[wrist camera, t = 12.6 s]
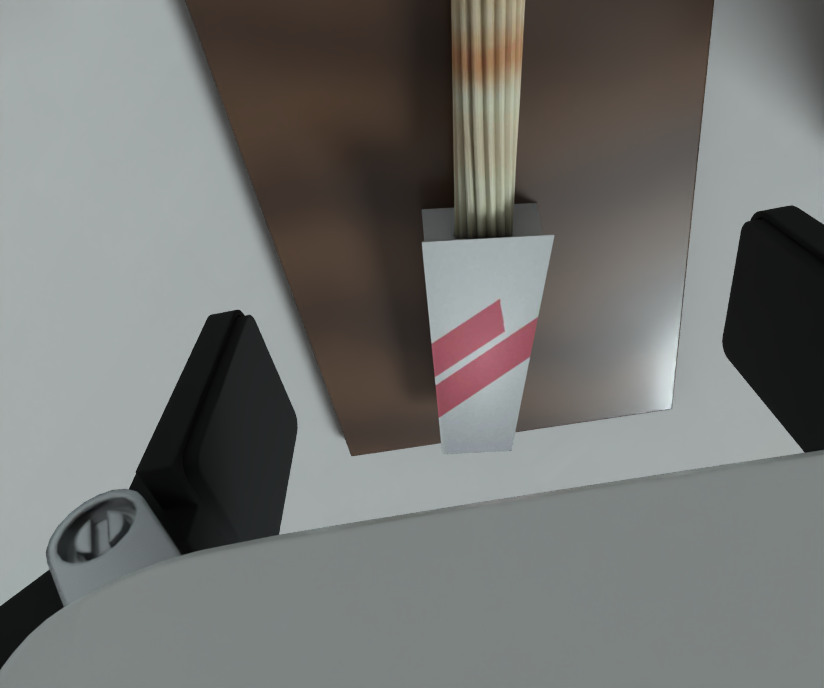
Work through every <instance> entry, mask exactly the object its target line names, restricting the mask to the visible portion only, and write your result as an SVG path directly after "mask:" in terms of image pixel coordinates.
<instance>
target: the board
mask: <svg viewBox="0 0 824 688" xmlns="http://www.w3.org/2000/svg"><path fill="white" fill-rule="evenodd" d="M185 2H186V5H187V7H188V10H189V13H190V16H191V18H192V21H193V24H194V26H195V29H196V32H197V35H198V37H199V40H200V43H201V46H202V48H203V51H204V54H205V57H206V59H207V62H208V65H209V68H210V70H211V73H212V76H213V78H214V81H215V84H216V87H217V89H218V92H219V95H220V98H221V100H222V103H223V106H224V109H225V111H226V114H227V117H228V120H229V122H230V125H231V128H232V131H233V133H234V136H235V139H236V141H237V144H238V147H239V150H240V152H241V155H242V158H243V161H244V163H245V166H246V169H247V172H248V174H249V177H250V180H251V183H252V185H253V188H254V191H255V194H256V196H257V199H258V202H259V204H260V207H261V210H262V213H263V215H264V218H265V221H266V224H267V226H268V229H269V232H270V235H271V237H272V240H273V243H274V246H275V248H276V251H277V254H278V256H279V259H280V262H281V265H282V267H283V270H284V273H285V276H286V278H287V281H288V284H289V287H290V289H291V292H292V295H293V298H294V300H295V303H296V306H297V309H298V311H299V314H300V317H301V319H302V322H303V325H304V328H305V330H306V333H307V336H308V339H309V341H310V344H311V347H312V350H313V352H314V355H315V358H316V361H317V363H318V366H319V369H320V371H321V374H322V377H323V380H324V382H325V385H326V388H327V391H328V393H329V396H330V399H331V402H332V404H333V407H334V410H335V413H336V415H337V418H338V421H339V424H340V426H341V429H342V432H343V434H344V437H345V440H346V443H347V445H348V448H349V451H350V454H351V456H357V455H364V454H371V453H377V452H384V451H391V450H398V449H405V448H411V447H418V446H425V445H432V444H439V443H441V436H440V426H439V415H438V405H437V395H436V384H435V374H434V364H433V353H432V343H431V333H430V323H429V312H428V302H427V292H426V281H425V271H424V261H423V250H422V242H423V241H424V232H423V220H422V209H438V208H454V149H453V84H452V20H451V0H185ZM713 7H714V0H525V13H524V32H523V51H522V69H521V88H520V106H519V122H518V139H517V155H516V172H515V195H514V204H526V203H538V207H539V215H540V222H541V229H542V235H554V240H553V245H552V250H551V255H550V260H549V265H548V270H547V275H546V280H545V285H544V290H543V295H542V300H541V305H540V310H539V315H538V320H537V325H536V330H535V335H534V340H533V345H532V350H531V355H530V360H529V365H528V370H527V375H526V380H525V385H524V390H523V395H522V400H521V405H520V410H519V415H518V420H517V425H516V430H515V432H520V431H527V430H533V429H540V428H547V427H554V426H561V425H567V424H574V423H581V422H588V421H594V420H601V419H608V418H615V417H622V416H628V415H635V414H642V413H649V412H655V411H662V410H669V409H672V402H673V393H674V383H675V373H676V364H677V354H678V344H679V335H680V325H681V316H682V306H683V296H684V287H685V277H686V267H687V258H688V248H689V238H690V229H691V219H692V210H693V200H694V190H695V181H696V171H697V161H698V152H699V142H700V132H701V123H702V113H703V104H704V94H705V84H706V75H707V65H708V55H709V46H710V36H711V26H712V17H713Z"/></svg>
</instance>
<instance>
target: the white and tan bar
mask: <svg viewBox="0 0 824 688" xmlns="http://www.w3.org/2000/svg"><path fill="white" fill-rule="evenodd" d="M524 13H525V0H451V20H452V84H453V149H454V208H438V209H422V220H423V232H424V241H423V242H422V250H423V261H424V271H425V281H426V292H427V302H428V312H429V323H430V333H431V343H432V353H433V364H434V374H435V384H436V395H437V405H438V415H439V426H440V436H441V446H442V454H459V453H479V452H499V451H511V450H512V445H513V440H514V435H515V430H516V425H517V420H518V415H519V410H520V405H521V400H522V395H523V390H524V385H525V380H526V375H527V370H528V365H529V360H530V355H531V350H532V345H533V340H534V335H535V330H536V325H537V320H538V315H539V310H540V305H541V300H542V295H543V290H544V285H545V280H546V275H547V270H548V265H549V260H550V255H551V250H552V245H553V240H554V235H542V229H541V222H540V215H539V207H538V203H526V204H514V195H515V172H516V155H517V139H518V122H519V106H520V88H521V69H522V51H523V32H524Z"/></svg>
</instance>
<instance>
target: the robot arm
mask: <svg viewBox="0 0 824 688" xmlns="http://www.w3.org/2000/svg"><path fill="white" fill-rule="evenodd" d="M722 343H723V349H724V352H725V355H726V356H727V358H728V359H729V361H730V362H731V363H732V364H733V365H734V367H735V368H736V369H737V370H738V371H739V373H740V374H741V375H742V376H743V378H744V379H745V380H746V381H747V382H748V384H749V385H750V386H751V387H752V389H753V390H754V391H755V392H756V393H757V395H758V396H759V397H760V398H761V400H762V401H763V402H764V403H765V404H766V406H767V407H768V408H769V409H770V411H771V412H772V413H773V414H774V415H775V417H776V418H777V419H778V420H779V422H780V423H781V424H782V425H783V426H784V428H785V429H786V430H787V431H788V433H789V434H790V435H791V436H792V437H793V439H794V440H795V441H796V442H797V444H798V445H799V446H800V447H801V448H802V450H803V451H804V452H805V453H800V454H793V455H787V456H780V457H773V458H767V459H760V460H753V461H746V462H740V463H733V464H726V465H720V466H713V467H706V468H699V469H693V470H686V471H679V472H673V473H666V474H660V475H653V476H647V477H640V478H634V479H627V480H621V481H614V482H608V483H601V484H594V485H588V486H581V487H575V488H569V489H562V490H556V491H549V492H543V493H536V494H530V495H523V496H517V497H511V498H504V499H498V500H491V501H485V502H479V503H472V504H466V505H460V506H454V507H447V508H441V509H435V510H429V511H422V512H416V513H410V514H404V515H397V516H391V517H385V518H379V519H372V520H366V521H360V522H354V523H347V524H341V525H335V526H329V527H323V528H317V529H311V530H305V531H299V532H293V533H287V534H281V535H279V531H280V525H281V520H282V514H283V508H284V503H285V497H286V492H287V486H288V480H289V475H290V469H291V463H292V458H293V452H294V446H295V441H296V435H297V418H296V414H295V411H294V409H293V407H292V404H291V402H290V400H289V397H288V395H287V393H286V391H285V388H284V386H283V384H282V381H281V379H280V377H279V374H278V372H277V370H276V368H275V365H274V363H273V361H272V358H271V356H270V354H269V351H268V349H267V347H266V344H265V342H264V340H263V338H262V335H261V333H260V331H259V328H258V326H257V324H256V321H255V320H254V318H253V317H252V316H251V315H247V316H244V314H243V313H242V312H241V311H240V310H234V311H229V312H223V313H218V314H213V315H210V316H209V317H208V318H207V320H206V322H205V325H204V327H203V329H202V331H201V333H200V335H199V337H198V340H197V342H196V344H195V346H194V348H193V350H192V352H191V355H190V357H189V359H188V361H187V363H186V365H185V367H184V370H183V372H182V374H181V376H180V378H179V380H178V382H177V384H176V387H175V389H174V391H173V393H172V395H171V397H170V399H169V402H168V404H167V406H166V408H165V410H164V412H163V414H162V417H161V419H160V421H159V423H158V425H157V427H156V429H155V432H154V434H153V436H152V438H151V440H150V442H149V444H148V447H147V449H146V451H145V453H144V455H143V457H142V459H141V462H140V464H139V466H138V468H137V470H136V475H135V477H134V479H133V482H132V484H131V486H130V488H129V489H118V490H111V491H108V492H105V493H102V494H99V495H97V496H95V497H93V498H92V499H90V500H88V501H86V502H84V503H83V504H81V505H80V506H79V507H78V508H76V509H75V510H74V511H72V512H71V513H70V514H69V515H68V516H67V517H66V518H65V519H64V520H63V521H62V522H61V523H60V524H59V525H58V527H57V529H56V530H55V532H54V533H53V535H52V536H51V538H50V540H49V544H48V547H47V550H46V557H47V564H48V566H49V569H50V570H48V571H47V572H46V573H44V574H43V575H42V576H40V577H39V578H38V579H36V580H35V581H34V582H32V583H31V584H29V585H28V586H27V587H25V588H24V589H23V590H21V591H20V592H19V593H17V594H16V595H15V596H13V597H12V598H11V599H9V600H8V601H7V602H5V603H4V604H3V605H1V606H0V688H824V224H822V223H820V222H819V221H817V220H816V219H814V218H813V217H811V216H810V215H808V214H807V213H805V212H804V211H802V210H800V209H799V208H797V207H795V206H785V207H780V208H775V209H769V210H764V211H759V212H756V213H755V214H754V215H753V217H752V218H751V221H748V222H746V223H745V224H744V225H743V227H742V230H741V235H740V240H739V246H738V252H737V258H736V264H735V269H734V275H733V281H732V287H731V293H730V298H729V304H728V310H727V316H726V321H725V327H724V333H723V340H722Z"/></svg>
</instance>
